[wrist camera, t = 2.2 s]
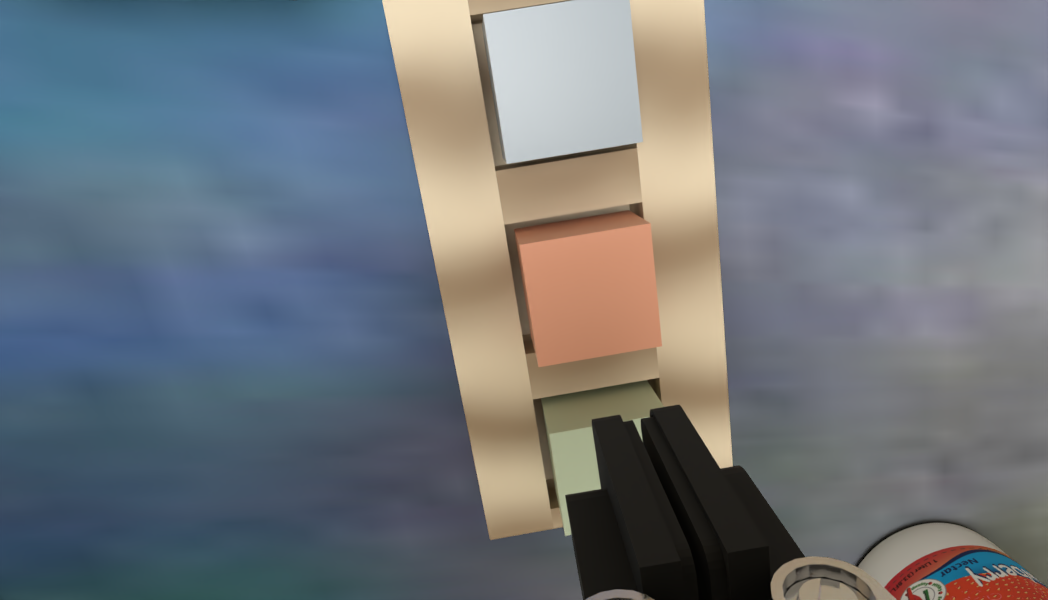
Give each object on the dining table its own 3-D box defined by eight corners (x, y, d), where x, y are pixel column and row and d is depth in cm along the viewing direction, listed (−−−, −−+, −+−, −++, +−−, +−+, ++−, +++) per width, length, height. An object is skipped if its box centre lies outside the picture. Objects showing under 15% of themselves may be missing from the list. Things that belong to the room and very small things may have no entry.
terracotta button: (640, 319, 28) (662, 346, 25) (531, 337, 28) (538, 367, 25) (628, 210, 27) (650, 223, 23) (513, 229, 27) (519, 245, 23)
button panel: (708, 458, 34) (734, 496, 30) (488, 497, 33) (490, 540, 30) (672, -32, 27) (700, -53, 23) (393, 11, 26) (381, -4, 23)
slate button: (621, 138, 26) (643, 142, 23) (502, 158, 26) (506, 164, 22) (607, 9, 24) (628, -9, 21) (481, 28, 24) (483, 14, 21)
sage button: (655, 471, 31) (678, 515, 27) (555, 489, 30) (565, 535, 27) (646, 379, 29) (668, 413, 26) (540, 397, 29) (549, 434, 26)
